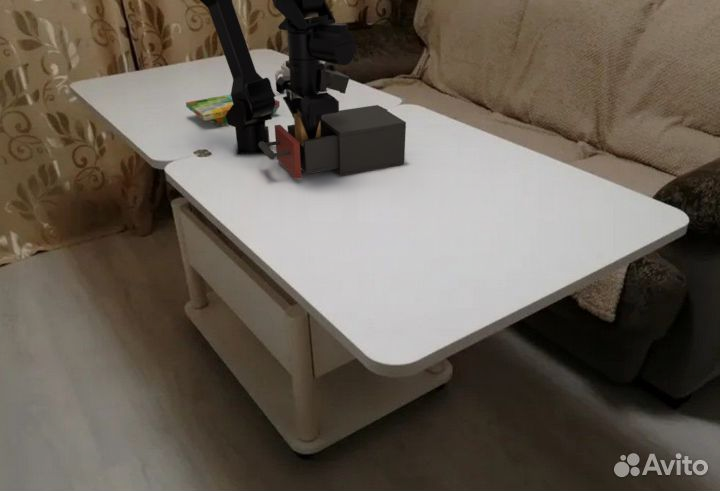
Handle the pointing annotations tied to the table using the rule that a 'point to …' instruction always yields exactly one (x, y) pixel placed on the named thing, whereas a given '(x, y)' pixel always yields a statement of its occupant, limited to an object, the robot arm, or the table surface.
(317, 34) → the robot arm
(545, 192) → the table surface
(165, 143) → the table surface
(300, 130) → the oak block
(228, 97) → the puzzle game
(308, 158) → the red-fronted drawer
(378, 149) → the drawer cabinet casing
